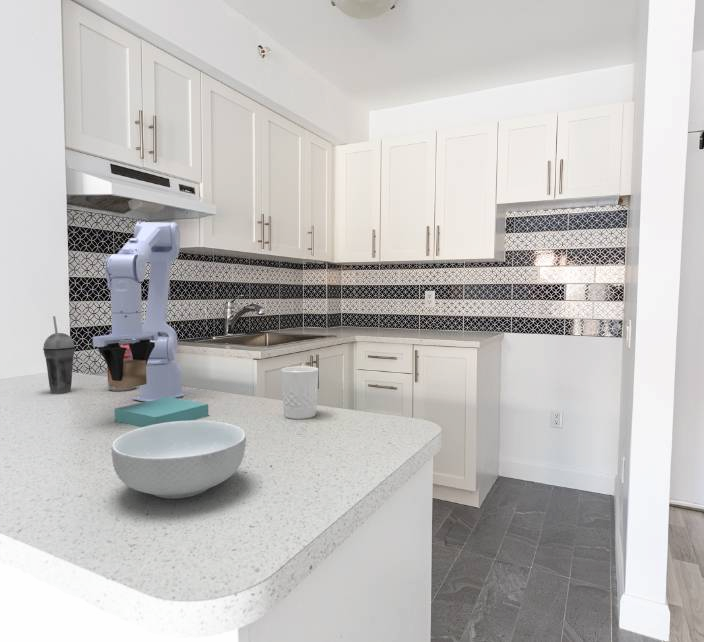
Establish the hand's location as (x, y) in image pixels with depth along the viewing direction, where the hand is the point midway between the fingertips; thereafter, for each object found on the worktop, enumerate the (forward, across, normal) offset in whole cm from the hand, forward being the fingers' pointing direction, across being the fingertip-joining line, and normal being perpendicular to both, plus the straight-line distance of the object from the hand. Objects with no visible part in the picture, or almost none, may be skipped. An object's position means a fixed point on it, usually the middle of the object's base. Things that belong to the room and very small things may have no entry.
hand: (128, 378), depth 101 cm
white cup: (+9, -17, +31) cm, 36 cm away
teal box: (+9, -3, +6) cm, 11 cm away
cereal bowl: (+9, +23, +36) cm, 44 cm away
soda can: (+9, -22, -27) cm, 35 cm away
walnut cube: (+2, 0, 0) cm, 2 cm away
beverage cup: (+9, -12, -38) cm, 41 cm away
